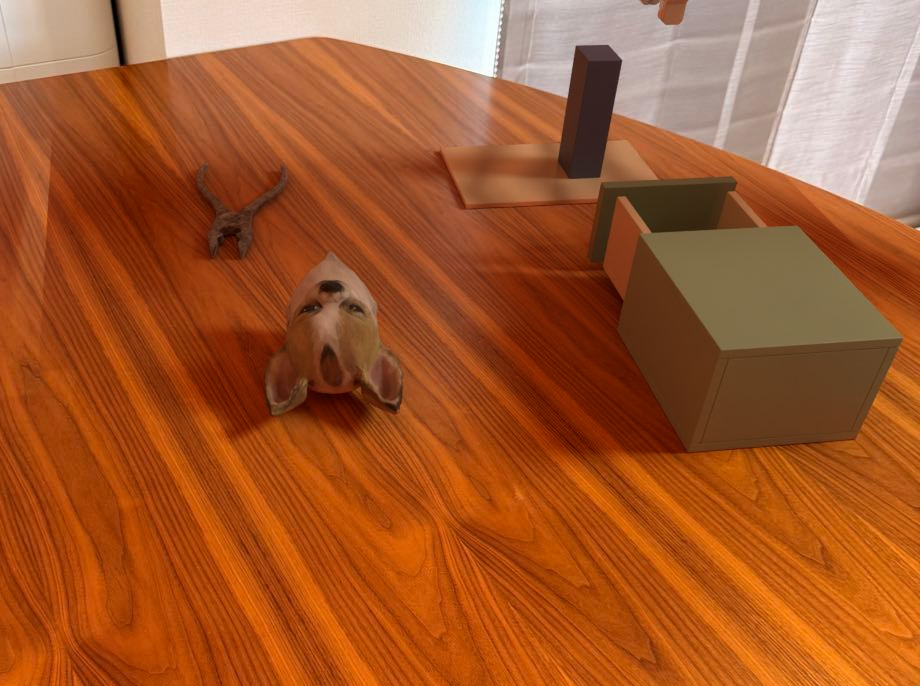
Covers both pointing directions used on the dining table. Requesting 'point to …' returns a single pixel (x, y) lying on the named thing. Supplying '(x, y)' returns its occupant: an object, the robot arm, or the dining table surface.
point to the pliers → (234, 214)
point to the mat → (534, 174)
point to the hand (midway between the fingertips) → (657, 12)
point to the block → (589, 110)
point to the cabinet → (753, 338)
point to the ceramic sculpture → (332, 344)
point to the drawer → (660, 216)
